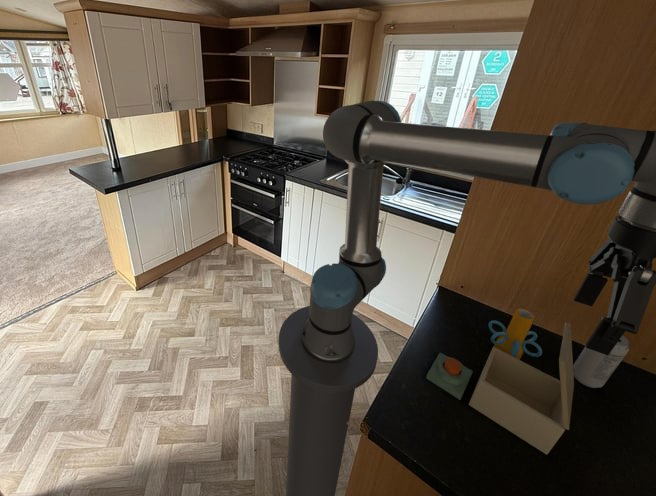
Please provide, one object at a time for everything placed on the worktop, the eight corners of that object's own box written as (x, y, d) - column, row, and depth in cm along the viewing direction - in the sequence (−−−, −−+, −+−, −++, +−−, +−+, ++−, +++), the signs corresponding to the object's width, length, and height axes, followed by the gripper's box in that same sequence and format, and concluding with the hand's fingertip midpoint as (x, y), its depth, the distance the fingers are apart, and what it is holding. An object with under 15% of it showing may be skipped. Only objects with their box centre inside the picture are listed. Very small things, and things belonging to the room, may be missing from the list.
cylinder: (496, 373, 80) (517, 331, 74) (472, 339, 90) (488, 300, 83) (542, 371, 81) (567, 329, 74) (513, 338, 90) (532, 299, 83)
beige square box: (468, 404, 73) (479, 380, 69) (482, 370, 81) (493, 346, 77) (547, 455, 64) (565, 430, 60) (554, 410, 72) (570, 386, 68)
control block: (425, 378, 79) (428, 369, 77) (438, 356, 85) (441, 347, 83) (460, 400, 74) (464, 391, 72) (471, 375, 80) (475, 366, 78)
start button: (441, 368, 78) (443, 364, 77) (446, 359, 80) (448, 355, 80) (457, 378, 76) (459, 373, 75) (461, 368, 78) (463, 364, 77)
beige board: (558, 360, 57) (564, 361, 56) (565, 322, 65) (570, 323, 64) (563, 428, 60) (568, 430, 59) (569, 384, 68) (574, 385, 68)
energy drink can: (586, 368, 82) (614, 326, 75) (608, 390, 76) (640, 347, 70) (563, 367, 82) (589, 326, 75) (584, 390, 76) (613, 347, 70)
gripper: (732, 274, 37) (638, 389, 46) (658, 201, 55) (602, 293, 65) (641, 253, 41) (572, 363, 50) (600, 191, 59) (555, 280, 68)
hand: (588, 324), depth 57 cm, fingers open, 13 cm apart
